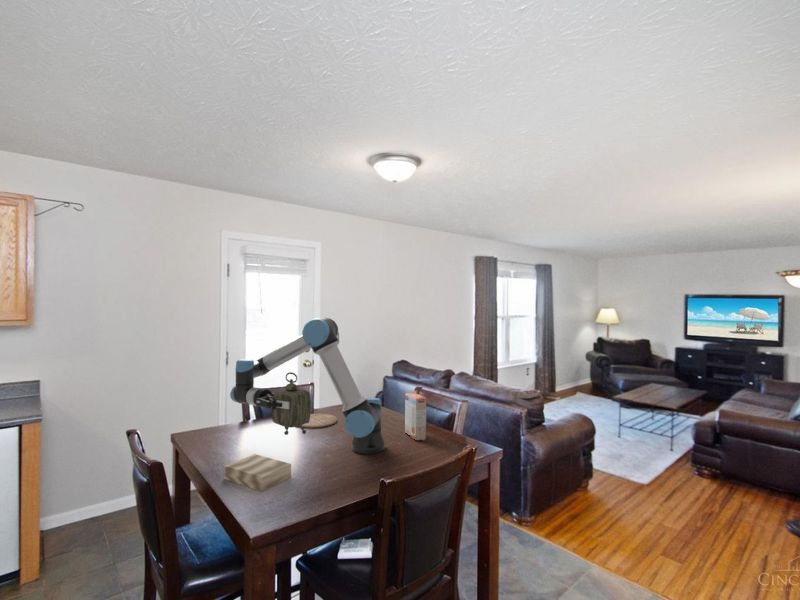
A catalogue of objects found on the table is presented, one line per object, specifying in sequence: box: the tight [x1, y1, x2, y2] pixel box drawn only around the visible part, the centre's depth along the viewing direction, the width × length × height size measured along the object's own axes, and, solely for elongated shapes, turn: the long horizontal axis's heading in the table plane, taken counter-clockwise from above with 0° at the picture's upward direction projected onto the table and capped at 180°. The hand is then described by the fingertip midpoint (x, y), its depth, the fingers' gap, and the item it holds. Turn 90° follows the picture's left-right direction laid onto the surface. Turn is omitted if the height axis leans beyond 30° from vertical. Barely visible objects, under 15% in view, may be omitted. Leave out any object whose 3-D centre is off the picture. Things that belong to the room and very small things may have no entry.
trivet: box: [295, 413, 338, 429], centre depth 225 cm, size 25×25×2 cm
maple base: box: [223, 453, 292, 492], centre depth 150 cm, size 20×14×5 cm
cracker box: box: [404, 392, 427, 441], centre depth 201 cm, size 14×6×21 cm, turn 22°
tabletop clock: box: [271, 372, 312, 436], centre depth 164 cm, size 14×9×25 cm, turn 56°
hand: (298, 402), depth 162 cm, fingers closed on tabletop clock, 10 cm apart
